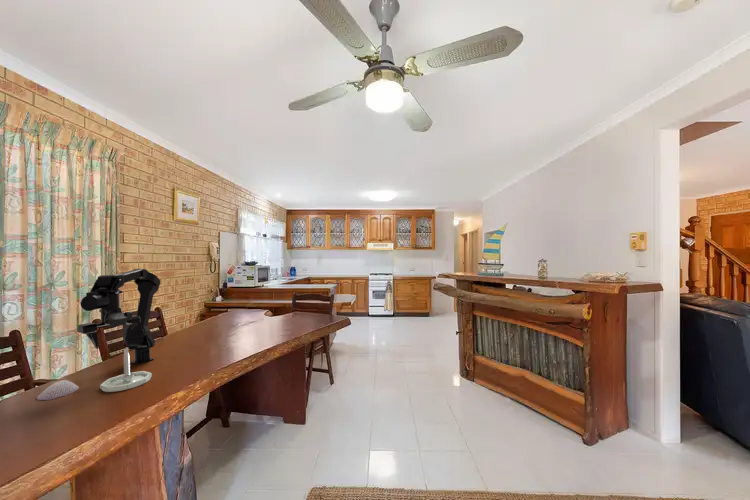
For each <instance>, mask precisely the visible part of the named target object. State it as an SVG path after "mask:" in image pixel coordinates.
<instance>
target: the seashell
mask: <svg viewBox="0 0 750 500" xmlns="http://www.w3.org/2000/svg"><path fill="white" fill-rule="evenodd" d="M79 388H80V387H79V386H78V385H77V384H75V383H74V382H72V381H70V380H67V379H63V380H59V381H56V382H54V383H52V384H51V385H49V386H48V387H46V388H45V389H44V390H43V391H42V392H41V393H40V394H39V395H37V397H36V399H37V401H48V400H49V401H50V400H54V399H57V398H61V397H66V396H68V395H71V394H73V393H75V392H76V391H77V392H78V390H79Z"/></svg>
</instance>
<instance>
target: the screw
mask: <svg viewBox="0 0 750 500" xmlns="http://www.w3.org/2000/svg"><path fill="white" fill-rule="evenodd" d="M130 360H131V359H130V353H129V348H128V346H127V347H124V348H123V374H124V375H122V374H120V375H121V376H120V377H119V379H121V380H123V383H127V382H130V381H131V380H132V377H134V376H135V374H134V373H132V372H131V361H130Z"/></svg>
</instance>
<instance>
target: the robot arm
mask: <svg viewBox="0 0 750 500" xmlns="http://www.w3.org/2000/svg"><path fill="white" fill-rule="evenodd" d="M132 281H133V284H136V285H137V288H136V289H137V291H138V293H139V294H140V295H139V300H138V305H137V310H136V315H135V314H133V312H132V311H125V312H122V308H121V307H120V294H123V291H122V290H121V289H120V288H122V287H123V286H125V283H128V282H129V283H130V282H132ZM160 285H161V279H160V278H159V277H158V276H157V275H156V274H154V273H152V272H150V271H148V270H147V269H146V268H134V269H132V270H128V271H125V272H121V273H118V274H102V275H101V274H100V275H99V276H97V278H96V280H95V282H94V283H93V286H92V287H91V289H90V290H89V291H88V292H86V295H85V296H83V298H82V299H81V301H80V303H79V304H80V307H81V308H82V309H83V310H84V311H85V312H86V311H87V312H91V311H95V310H98V311H99V313H100V319H99V323H94V322H87V323H81V324H78V325H77V328H76V331H77V333H79V334H82V335H86V336H87V337H88V338H89V340H90V341H91V343H92V346H93V347H94V348H95V349H97V350H98V349H99V340H98V339H99V338H98V334H99V331H97V329H101V328H106V327H111V328H114V327H115V328H116V327H119V326H122V339H123V343H126V346H127V348H128V351H129V350H133V353H134V355H133V356H134V358H133V359H134V360H131V361H130V363H132V364H135V365H140V364H143V363H147V362H150V361H153V360H154V357H151V348H154V347H155V346H156V340H155V339H154V338H153V337H152V331H151V329H150V327H149V323H150V317H151V311H152V310H151V309H152V303H153V298H154V296H155V294H156V293H157V292H158V291H159V288H160Z"/></svg>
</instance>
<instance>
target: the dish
mask: <svg viewBox="0 0 750 500" xmlns="http://www.w3.org/2000/svg"><path fill="white" fill-rule="evenodd" d="M131 373H134V374H135V376H134V377H132V380H131V381H130V382H127V383H123V380H121V379H119V377H120V376H121V375H124V373H123V374H120V375H116V376H114V377H110V378H108V379H106V380H105V381H103V382H102V383H101V384H99V385H100V386H99V387H100V388H99V389H100V390H101V391H103V392H105V393H114V392H121V391H126V390H129V389H134V388H136V387H139V386H142V385H145V384H146V383H147V382H149V381H150V380H151V378H152V375H153V374H152V372H149V371H145V370H140V371H134V372H133V371H132V372H131Z"/></svg>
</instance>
